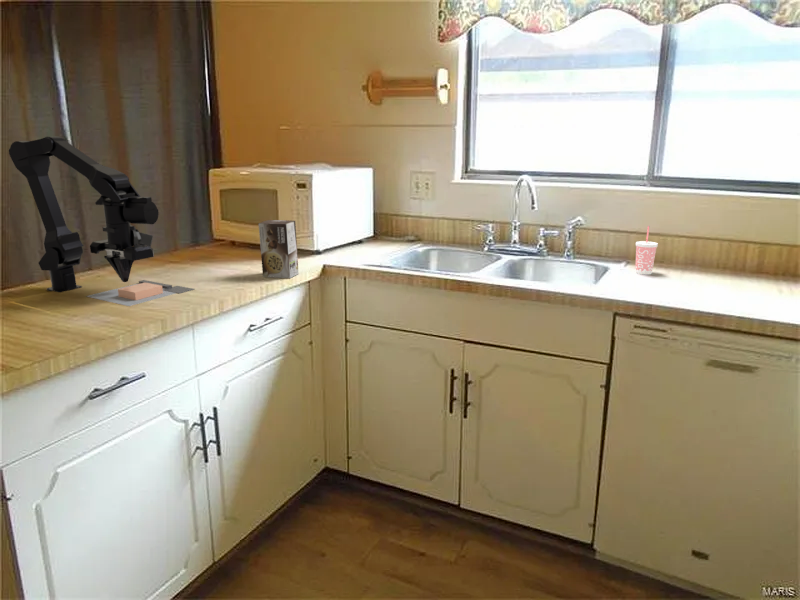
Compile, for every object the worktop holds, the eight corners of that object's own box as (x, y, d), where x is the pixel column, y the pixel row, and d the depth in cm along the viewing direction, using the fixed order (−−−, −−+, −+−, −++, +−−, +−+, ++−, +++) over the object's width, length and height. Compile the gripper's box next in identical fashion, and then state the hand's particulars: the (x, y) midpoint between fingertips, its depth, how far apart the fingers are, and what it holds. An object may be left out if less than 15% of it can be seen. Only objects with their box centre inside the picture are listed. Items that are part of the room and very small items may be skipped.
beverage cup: (628, 271, 177) (632, 225, 173) (642, 269, 180) (647, 223, 176) (644, 275, 172) (649, 228, 168) (659, 273, 175) (664, 226, 171)
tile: (117, 289, 151) (134, 292, 148) (144, 282, 158) (162, 285, 154) (118, 296, 152) (135, 300, 148) (145, 289, 158) (162, 293, 155)
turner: (133, 285, 164) (133, 282, 164) (149, 282, 168) (149, 278, 168) (179, 295, 155) (179, 291, 154) (194, 290, 159) (194, 287, 158)
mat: (85, 297, 153) (85, 296, 152) (140, 284, 166) (140, 282, 166) (129, 307, 144) (129, 306, 143) (183, 292, 157) (182, 291, 157)
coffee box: (299, 273, 177) (296, 220, 173) (290, 278, 171) (286, 223, 167) (271, 272, 179) (268, 219, 175) (261, 277, 173) (257, 222, 169)
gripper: (168, 221, 153) (174, 280, 157) (123, 216, 162) (130, 271, 167) (129, 227, 144) (137, 289, 148) (85, 221, 153) (93, 279, 157)
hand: (125, 281), depth 155 cm, fingers closed
